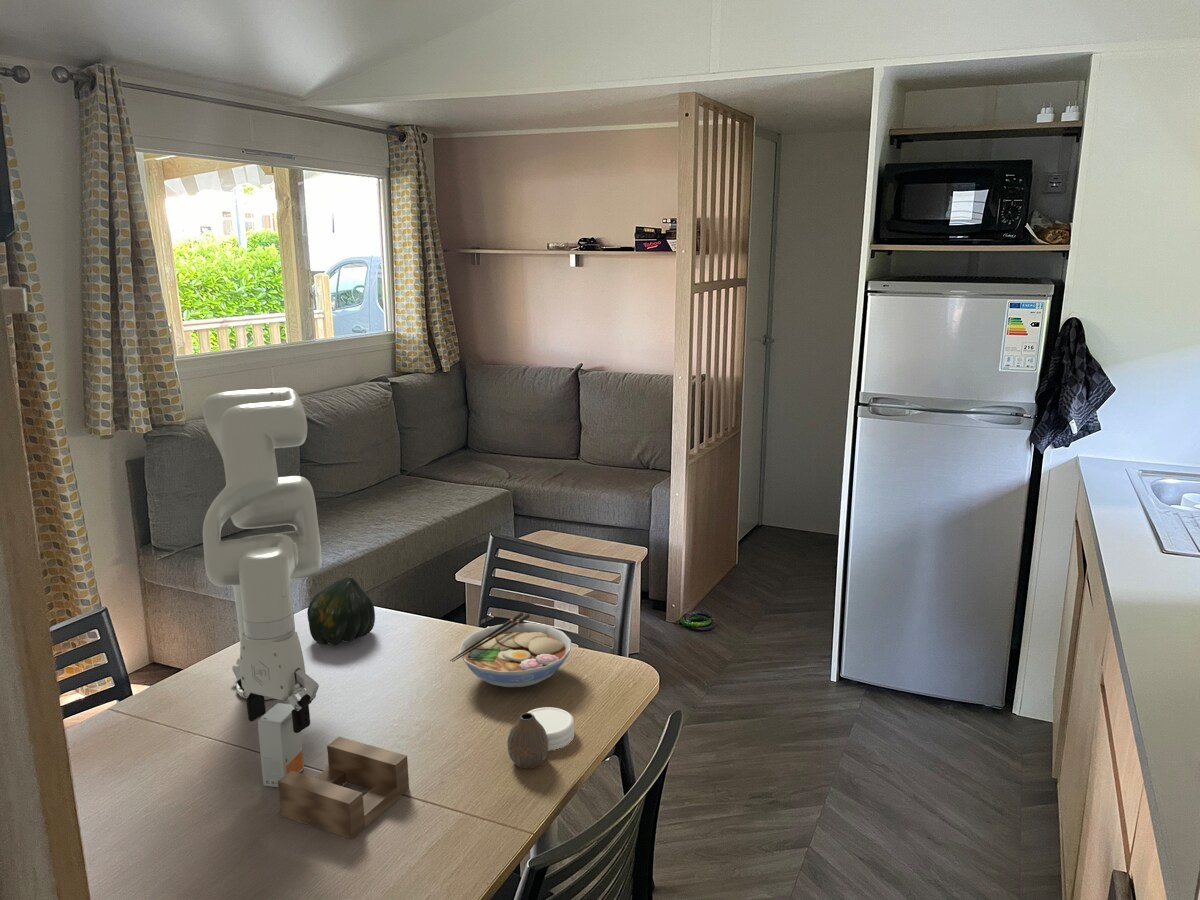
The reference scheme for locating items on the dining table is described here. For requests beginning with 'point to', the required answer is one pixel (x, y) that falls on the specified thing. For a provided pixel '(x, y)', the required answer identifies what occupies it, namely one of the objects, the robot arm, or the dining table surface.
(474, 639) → the ramen bowl
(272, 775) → the skincare box
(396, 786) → the socket
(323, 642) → the squash
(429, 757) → the dining table surface
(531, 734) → the vase
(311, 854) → the dining table surface
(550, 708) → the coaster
